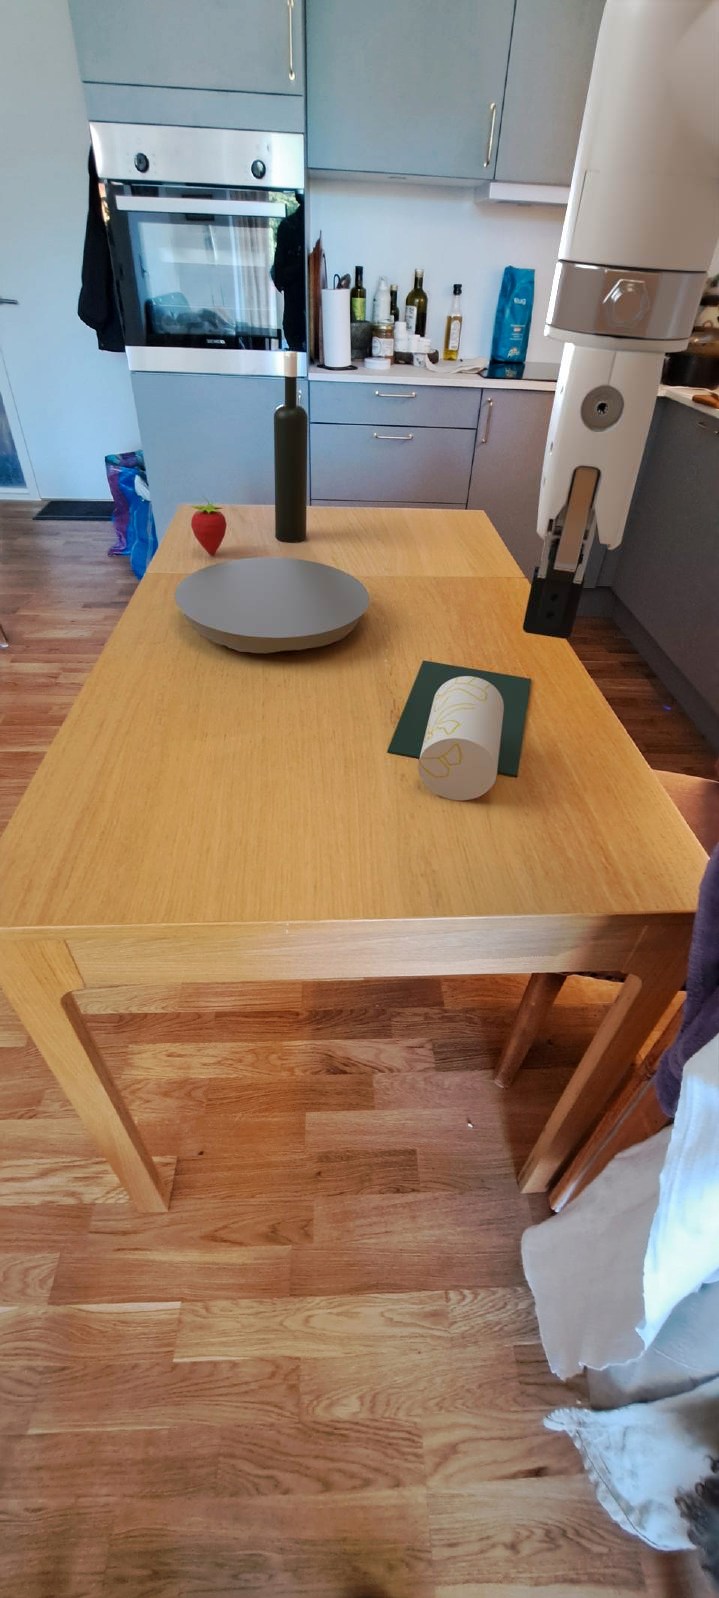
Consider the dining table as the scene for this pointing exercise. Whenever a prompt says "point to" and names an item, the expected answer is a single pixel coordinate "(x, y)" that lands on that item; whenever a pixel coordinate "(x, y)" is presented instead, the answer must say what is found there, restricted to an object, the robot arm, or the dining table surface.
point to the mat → (421, 700)
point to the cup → (462, 739)
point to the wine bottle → (290, 460)
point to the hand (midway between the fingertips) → (546, 630)
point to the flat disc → (271, 603)
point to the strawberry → (209, 527)
